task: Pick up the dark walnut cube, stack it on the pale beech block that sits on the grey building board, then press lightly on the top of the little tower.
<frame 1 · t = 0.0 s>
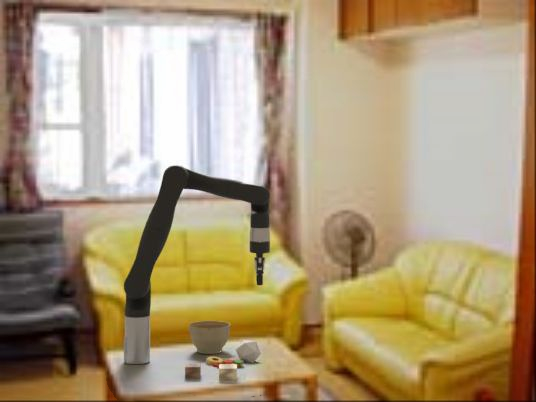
hand: (259, 283, 315), 29 cm above the table, tool pointing down, fingers open, 8 cm apart
beech block: (227, 378, 289), point 1 cm above the table, touching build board
die: (248, 362, 316), on the table
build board: (227, 380, 289), on the table
planter bowl: (209, 352, 332), on the table
walnut cube: (192, 379, 291), on the table
toy food set: (226, 368, 308), on the table
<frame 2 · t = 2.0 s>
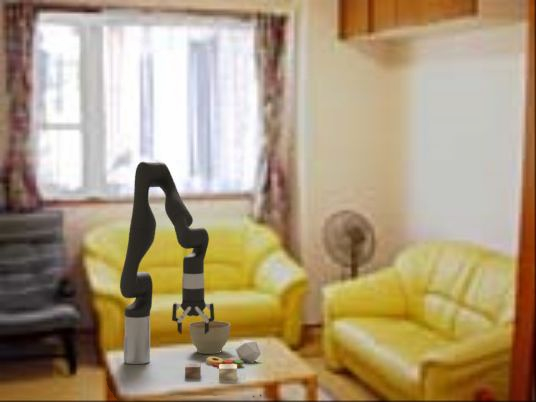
hand: (193, 333, 290), 16 cm above the table, tool pointing down, fingers open, 8 cm apart
nothing on the table moved.
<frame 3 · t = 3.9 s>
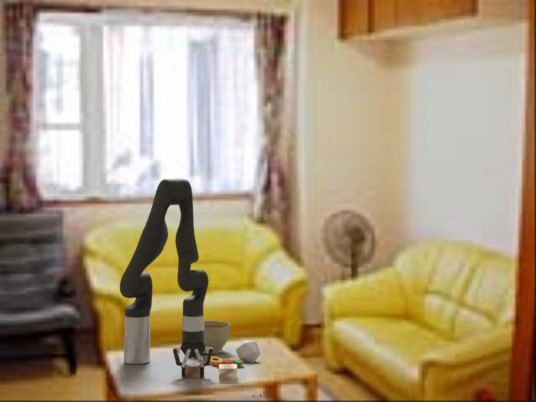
hand: (192, 377, 291), 1 cm above the table, tool pointing down, fingers closed on walnut cube, 5 cm apart
walnut cube: (192, 379, 291), on the table, touching gripper
everything else where it was.
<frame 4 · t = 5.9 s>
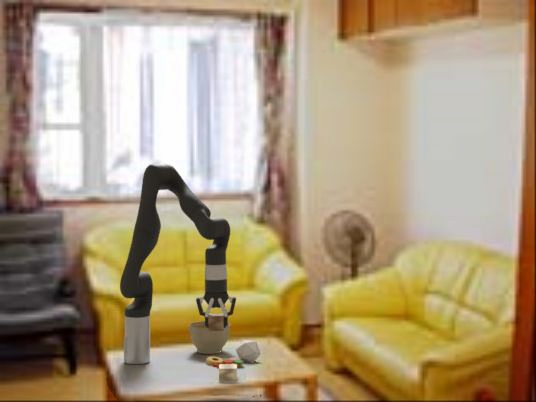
hand: (216, 327, 288), 18 cm above the table, tool pointing down, fingers closed on walnut cube, 5 cm apart
walnut cube: (216, 329, 288), point 18 cm above the table, touching gripper
everything else where it was.
when the fingers open (6 cm above the table, at t = 8.1 s): walnut cube stays where it is, resting on beech block.
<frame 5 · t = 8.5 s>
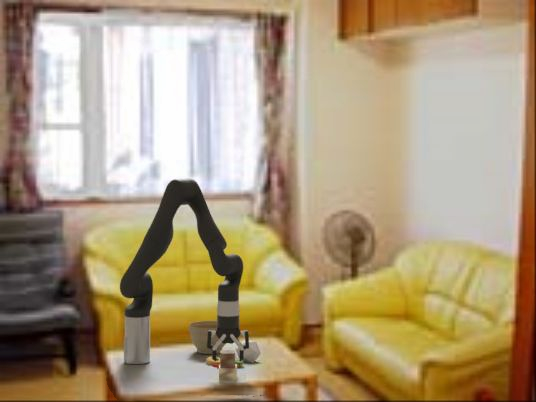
hand: (228, 360, 289), 7 cm above the table, tool pointing down, fingers open, 8 cm apart
beech block: (227, 378, 289), point 1 cm above the table, touching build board, walnut cube
walnut cube: (227, 366, 289), point 5 cm above the table, touching beech block
everything else where it was.
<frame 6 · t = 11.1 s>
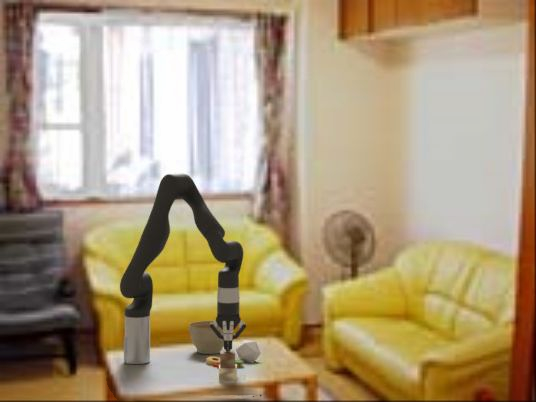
hand: (228, 350, 288), 10 cm above the table, tool pointing down, fingers closed
nothing on the table moved.
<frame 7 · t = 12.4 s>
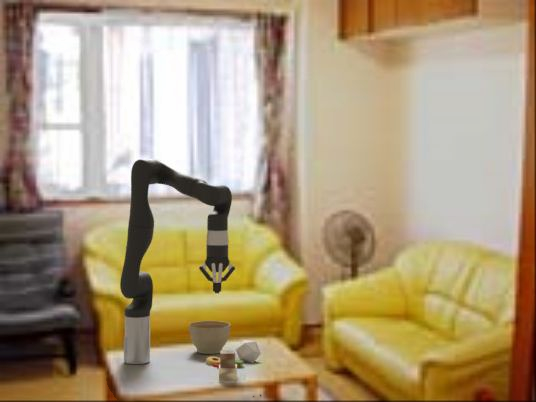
hand: (217, 293, 294), 29 cm above the table, tool pointing down, fingers closed
nothing on the table moved.
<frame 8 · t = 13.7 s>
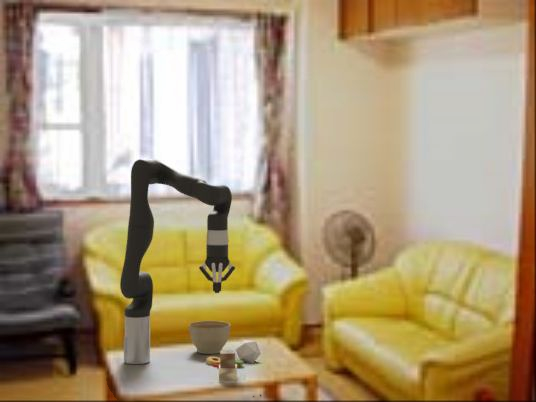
hand: (217, 292, 294), 29 cm above the table, tool pointing down, fingers closed
nothing on the table moved.
at the end: walnut cube 0.1 cm off-centre on the beech block, point 4.0 cm above the beech block's base; walnut cube tilted 0°; beech block moved 0.0 cm from its start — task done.
